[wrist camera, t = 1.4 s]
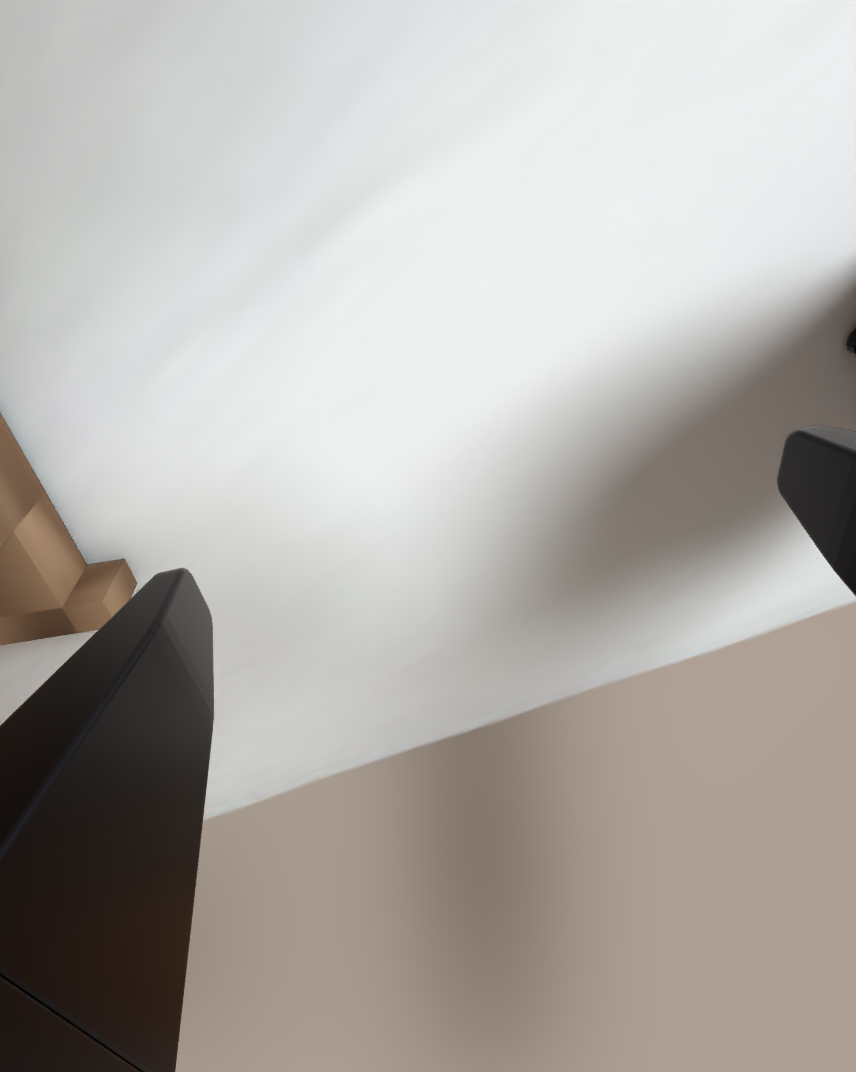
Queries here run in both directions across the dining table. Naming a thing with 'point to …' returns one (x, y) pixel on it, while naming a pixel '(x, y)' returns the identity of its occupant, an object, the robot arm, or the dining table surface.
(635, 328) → the dining table surface
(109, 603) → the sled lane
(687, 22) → the dining table surface
